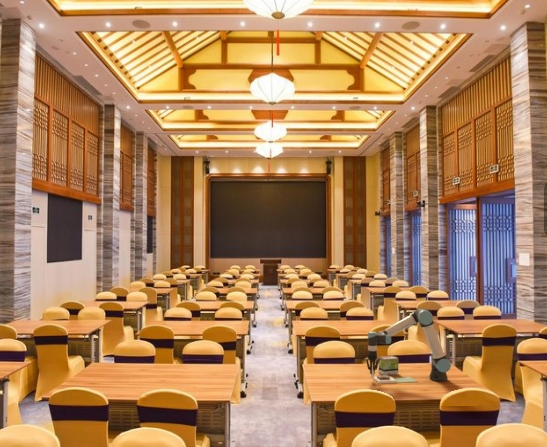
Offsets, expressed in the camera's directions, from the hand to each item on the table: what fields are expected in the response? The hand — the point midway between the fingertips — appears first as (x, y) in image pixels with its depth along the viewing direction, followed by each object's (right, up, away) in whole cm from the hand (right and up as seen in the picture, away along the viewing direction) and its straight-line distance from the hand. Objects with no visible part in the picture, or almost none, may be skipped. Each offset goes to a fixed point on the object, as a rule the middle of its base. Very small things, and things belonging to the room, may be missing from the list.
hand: (372, 377), depth 414 cm
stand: (+11, -3, +2) cm, 11 cm away
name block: (+10, -1, +2) cm, 10 cm away
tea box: (+20, -5, +26) cm, 33 cm away
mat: (+29, -3, +5) cm, 29 cm away
